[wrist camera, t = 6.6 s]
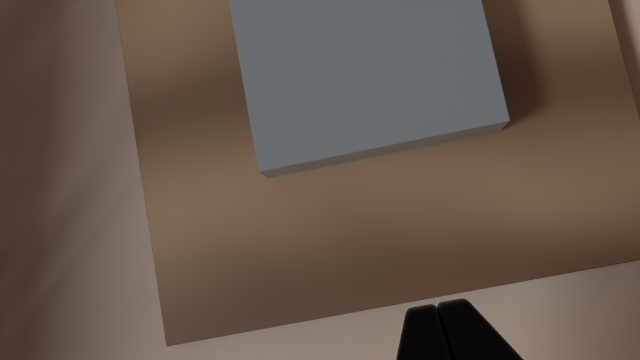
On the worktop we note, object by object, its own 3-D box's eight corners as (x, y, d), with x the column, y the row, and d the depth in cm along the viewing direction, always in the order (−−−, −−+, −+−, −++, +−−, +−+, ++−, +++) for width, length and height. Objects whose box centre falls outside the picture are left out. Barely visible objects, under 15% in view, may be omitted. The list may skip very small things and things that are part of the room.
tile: (510, 120, 16) (447, -146, 17) (258, 172, 17) (212, -90, 18) (498, 132, 18) (441, -112, 19) (269, 178, 18) (226, -62, 19)
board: (662, 253, 18) (675, 253, 17) (175, 342, 19) (166, 346, 18) (557, -144, 20) (565, -160, 19) (118, -40, 21) (107, -52, 20)
